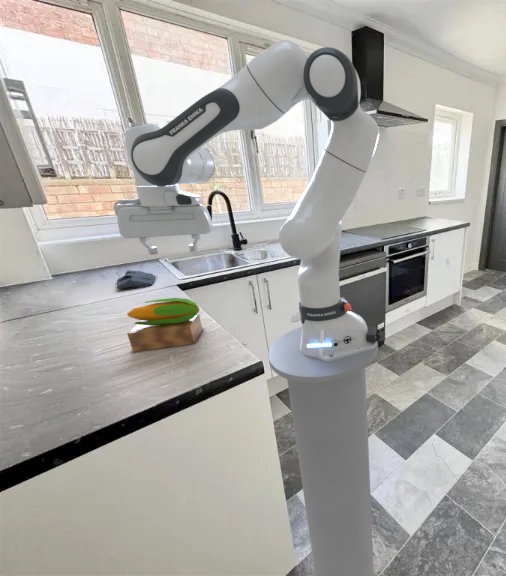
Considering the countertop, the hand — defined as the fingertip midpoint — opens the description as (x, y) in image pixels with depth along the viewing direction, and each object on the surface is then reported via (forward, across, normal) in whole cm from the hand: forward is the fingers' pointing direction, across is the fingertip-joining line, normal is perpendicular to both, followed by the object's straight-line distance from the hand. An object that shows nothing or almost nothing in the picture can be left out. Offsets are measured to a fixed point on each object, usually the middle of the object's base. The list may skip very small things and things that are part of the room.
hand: (174, 252), depth 81 cm
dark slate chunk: (+29, -47, +81) cm, 98 cm away
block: (+29, -10, +9) cm, 32 cm away
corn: (+23, -10, +9) cm, 27 cm away
